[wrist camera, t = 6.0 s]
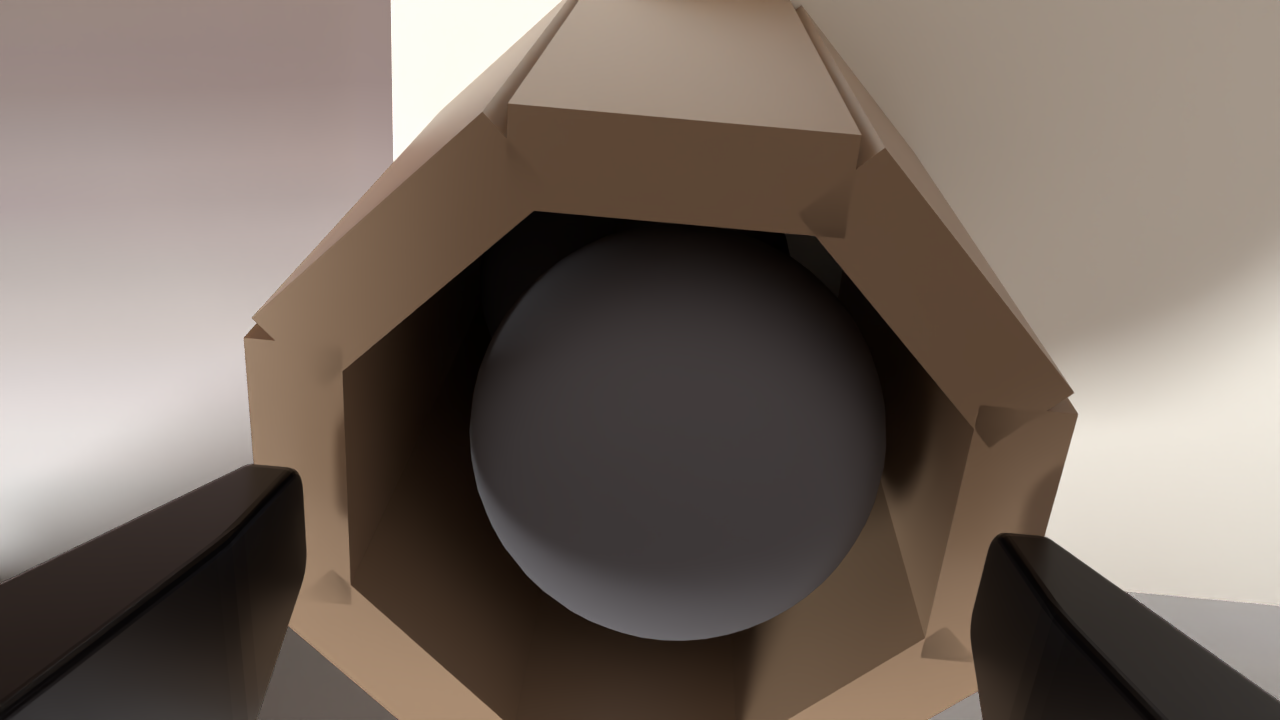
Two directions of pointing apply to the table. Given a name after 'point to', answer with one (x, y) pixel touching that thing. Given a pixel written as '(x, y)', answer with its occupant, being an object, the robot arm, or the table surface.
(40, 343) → the table surface
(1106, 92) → the board
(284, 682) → the table surface
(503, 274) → the charcoal ball in tube
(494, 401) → the charcoal ball
